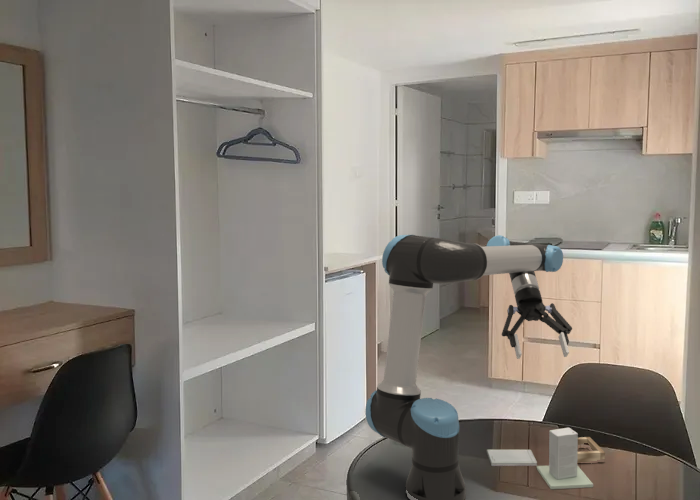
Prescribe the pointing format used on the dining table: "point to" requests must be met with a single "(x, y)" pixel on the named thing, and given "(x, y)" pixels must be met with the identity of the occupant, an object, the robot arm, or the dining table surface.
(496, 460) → the hard drive
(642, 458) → the dining table surface
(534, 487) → the dining table surface
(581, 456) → the cradle
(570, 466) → the skincare box
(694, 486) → the dining table surface
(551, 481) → the pad
